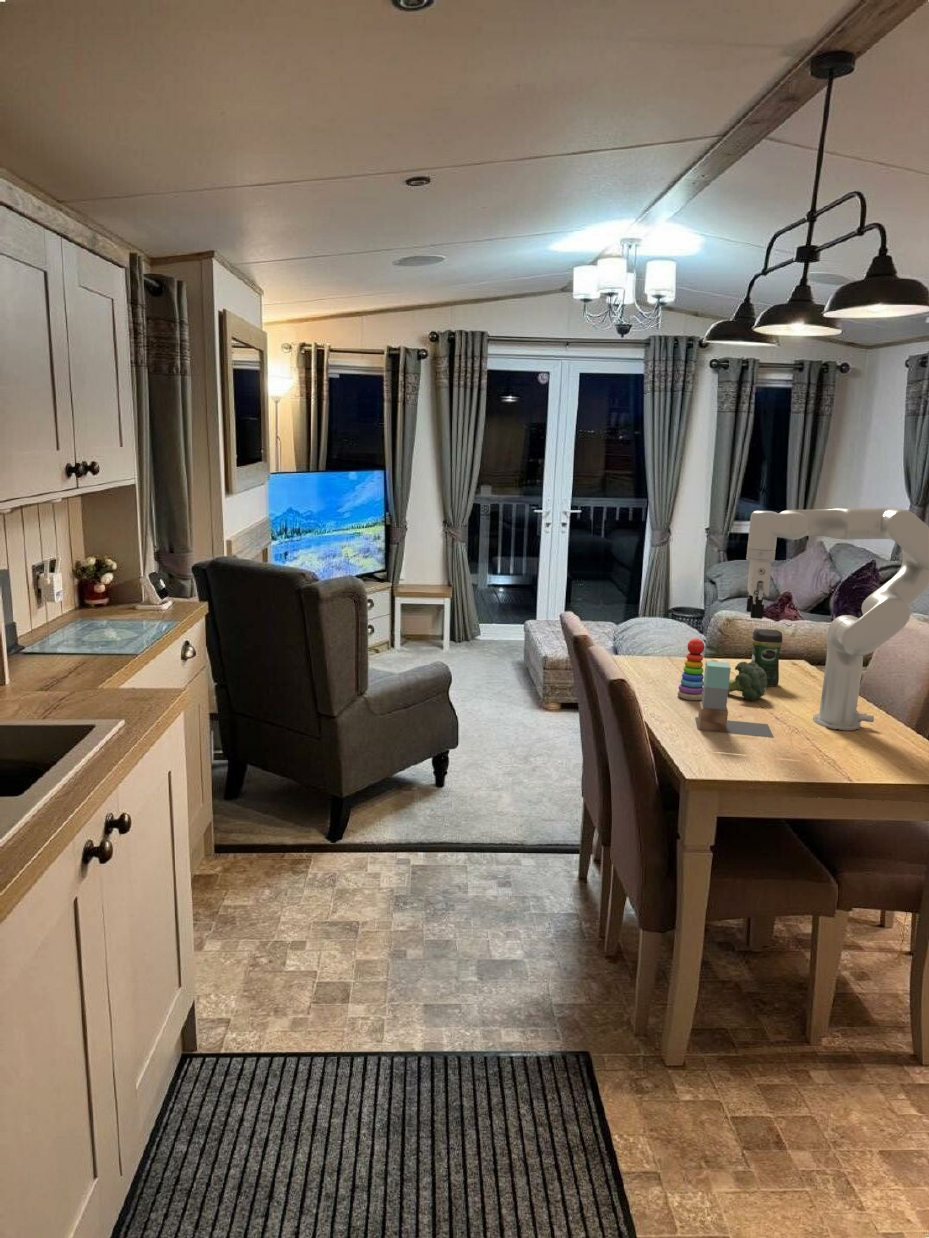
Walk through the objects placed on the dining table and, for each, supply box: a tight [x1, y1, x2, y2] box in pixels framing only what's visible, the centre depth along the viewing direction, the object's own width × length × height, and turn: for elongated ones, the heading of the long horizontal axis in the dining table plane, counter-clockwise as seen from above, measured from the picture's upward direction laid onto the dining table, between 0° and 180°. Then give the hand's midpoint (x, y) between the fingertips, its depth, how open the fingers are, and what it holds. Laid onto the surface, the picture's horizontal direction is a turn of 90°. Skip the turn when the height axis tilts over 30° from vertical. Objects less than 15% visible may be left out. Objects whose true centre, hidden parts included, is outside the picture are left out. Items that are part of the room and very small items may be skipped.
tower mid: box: [701, 684, 729, 710], centre depth 236 cm, size 6×6×6 cm
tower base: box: [698, 701, 729, 733], centre depth 237 cm, size 7×7×6 cm
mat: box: [694, 716, 775, 739], centre depth 239 cm, size 20×12×1 cm, turn 79°
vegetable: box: [728, 661, 768, 702], centre depth 270 cm, size 12×13×15 cm
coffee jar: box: [750, 628, 783, 687], centre depth 286 cm, size 10×8×19 cm
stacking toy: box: [677, 638, 705, 701], centre depth 266 cm, size 8×8×19 cm
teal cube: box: [703, 660, 732, 689], centre depth 235 cm, size 6×6×6 cm
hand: (754, 615), depth 244 cm, fingers open, 9 cm apart
